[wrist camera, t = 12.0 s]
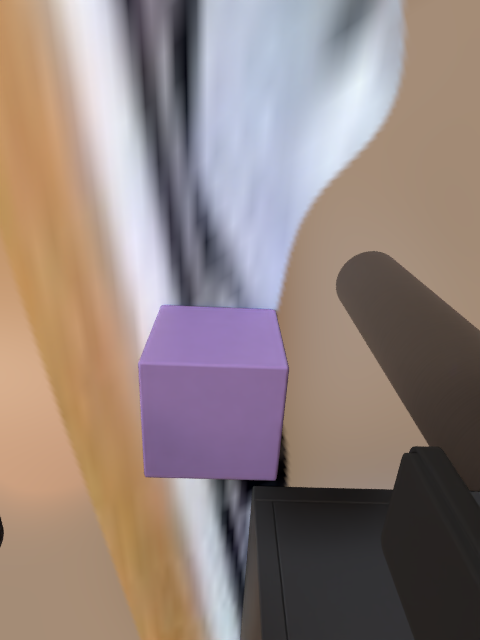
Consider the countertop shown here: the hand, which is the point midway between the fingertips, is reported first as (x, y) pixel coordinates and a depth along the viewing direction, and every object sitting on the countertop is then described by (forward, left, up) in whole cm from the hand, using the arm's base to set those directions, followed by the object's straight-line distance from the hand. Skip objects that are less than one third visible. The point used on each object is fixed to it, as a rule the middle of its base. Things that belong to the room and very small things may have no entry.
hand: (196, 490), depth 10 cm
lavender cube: (0, 0, -7) cm, 7 cm away
